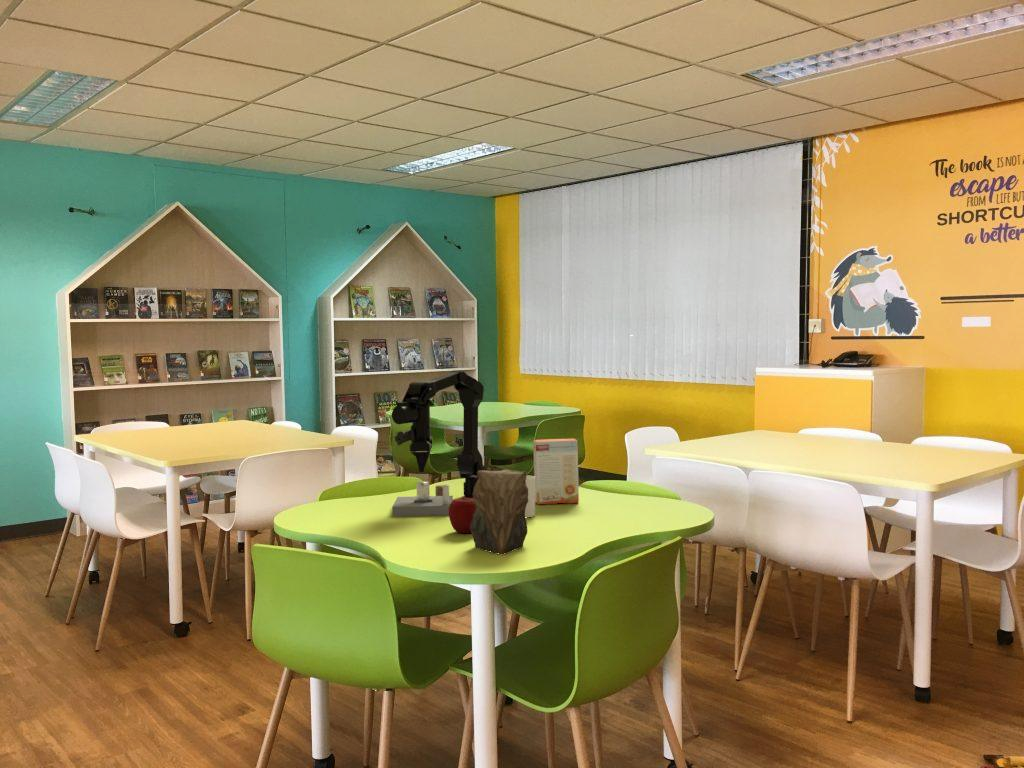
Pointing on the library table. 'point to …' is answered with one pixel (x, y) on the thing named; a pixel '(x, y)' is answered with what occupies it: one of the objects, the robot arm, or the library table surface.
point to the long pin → (423, 492)
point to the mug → (530, 496)
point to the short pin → (439, 490)
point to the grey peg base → (423, 505)
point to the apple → (461, 514)
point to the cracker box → (556, 471)
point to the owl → (500, 510)
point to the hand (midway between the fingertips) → (422, 469)
